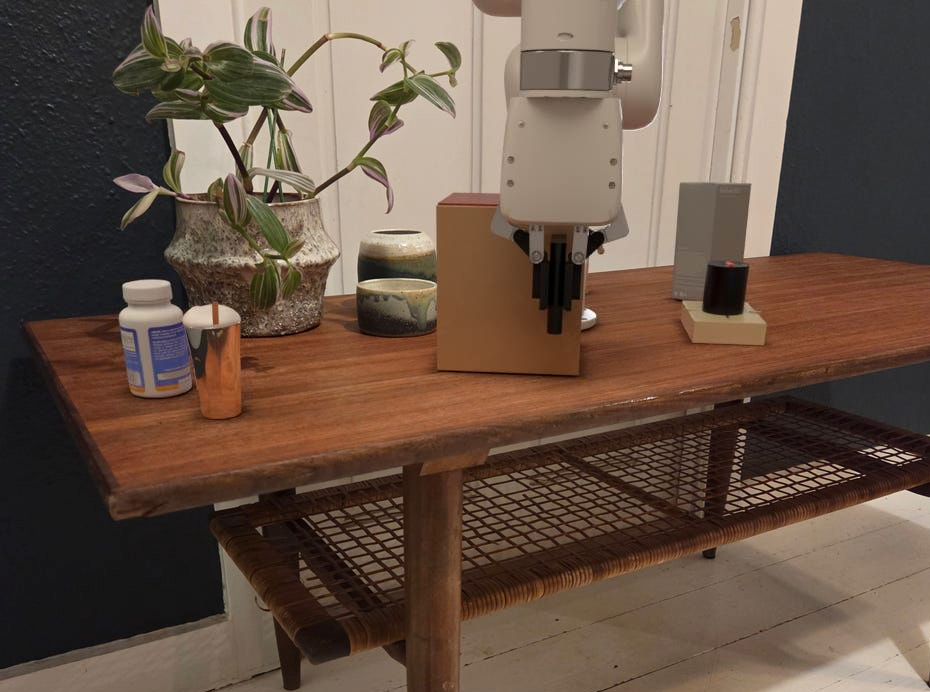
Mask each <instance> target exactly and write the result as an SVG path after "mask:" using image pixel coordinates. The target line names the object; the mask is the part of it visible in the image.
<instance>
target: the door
mask: <svg viewBox="0 0 930 692" xmlns="http://www.w3.org/2000/svg"><path fill="white" fill-rule="evenodd" d="M497 207H498V206H466V205H438V204H437V205H436V206H435V209H436V210H435V227H436V228H435V231H436V232H435V234H436V235H435V236H436V237H435V238H436V239H435V241H436V248H435V249H436V251H435V252H436V254H435V255H436V370H437V371H454V372H477V373H478V372H480V373H481V372H482V373H503V374H505V373H506V374H529V375H530V374H531V375H533V374H534V375H554V376H555V375H557V376H579V370H580V356H581V355H580V353H581V337H582V330H581V322H582V305H583V288H584V270H585V262H584V263H583V264H582V271H581V289H580V300H572V307H571V311H565V309H563V304H564V283H565V263H566V261H568V254H569V253H570V252H571V251H572V244H573V233H574V226H551V225H545V251H546V252H547V253H548V261H550V268H549V291H548V308H547V309H545V310H539V302H540V299H532V280H533V262H532V261H531V260H530V258H529V257H528V256H527V255H526V254H525V252H524V251H523V250H522V249H521V248H520V247H519V246H518V245H517V244H516V243H515V242H514V241H511V240H508V239H506V238H503V237H501V236H498V235H496V234H493V233H492V232H491V231H490V225H491V223H492V220H493V217H494V215H495V212H496V209H497ZM511 223H512V222H511ZM512 224H514V225H516V226H519V227H521V228H524V229H526V230H527V231H528V232H529V234H530V228H529V225H523V224H515V223H512Z"/></svg>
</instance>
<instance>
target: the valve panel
mask: <svg viewBox="0 0 930 692" xmlns="http://www.w3.org/2000/svg"><path fill="white" fill-rule="evenodd" d="M702 302H703V301H688V300H682V301H681V309H680V322H681V325H682V326H683V328H684V330H685V332H686V333H687V336H688V338H689V340H690V341H691V343H692V344H714V345H741V346H765V342H766V334H767V328H768V323H767V322H766V320H764V319H763V317H761V315H760V314H762V311H761V310H755V309H754V307H752V306H751V305H750V304H749V303H748V302H745V303H744V311H743V313H742V314H738V315H717V314H711V313H707V312H704V311H702Z"/></svg>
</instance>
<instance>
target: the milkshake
mask: <svg viewBox="0 0 930 692" xmlns="http://www.w3.org/2000/svg"><path fill="white" fill-rule="evenodd" d="M241 321H242V319H241V316H240V314H239V313H238V311H236V310H235V309H233V308H232V307H230V306H226V305H223V304H219V302H218V301H213V302H211V304H206V305H195V306H192V307H191V308H190V309H188V310H187V311H186V312H185V313H184V314H183V319H182V322H183V326H184V330H185V335H186V341H187V349H188V353H189V357H190V360H191V365H192V370H193V375H194V381H195V386H196V391H197V396H198V401H199V406H200V412H201V415H202V416H203V418H207V419H211V420H225V419H229V418H234V417H237V416H238V415H240V414H241V413H242V369H241V368H242V367H241V366H242V365H241V344H242V343H241V334H242V331H241V329H242V322H241Z"/></svg>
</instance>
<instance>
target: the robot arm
mask: <svg viewBox="0 0 930 692" xmlns="http://www.w3.org/2000/svg"><path fill="white" fill-rule="evenodd" d="M471 1H472V3H473V4H474V6H475V7H476V8H477V10H479V11H481V13H483V14H485V15H487V16H492V17H496V18H520V43H518V44H516V45H515V46H514V47H513V48H512V49H511V51H510V52H509V54H508V56H507V58H506V61H505V64H504V72H503V73H504V74H503V84H504V96H505V104H506V105H505V106H506V119H505V125H504V136H503V145H502V153H501V168H500V169H501V170H500V183H499V184H500V186H499V193H500V201H499V204H498V207H497V209H496V212H495V215H494V217H493V220H492V223H491V225H490V231H491V232H492V233H493V234H496V235H498V236H501V237H503V238H506V239H508V240H511V241H514V242H515V243H516V244H517V245H518V246H519V247H520V248H521V249H522V250H523V251H524V252H525V254H526V255H527V256H528V257H529V258H530V260H531V261H532V262H533V280H532V299H540V302H539V310H545V309H547V308H548V291H549V268H550V261H548V253H547V252H546V251H545V225H551V226H574V233H573V244H572V251H571V252H570V253H569V254H568V261H566V263H565V283H564V304H563V309H565V311H571V307H572V300H580V289H581V271H582V264H583V263H584V262H585V270H584V288H583V305H582V322H581V331H583V330H588V329H590V328H592V327H594V326H595V325H596V323H597V313H595V312H594V311H593V310H591V309H589V308H585V302H586V301H585V299H586V298H585V295H586V294H585V287H586V286H585V284H586V267H587V258H588V257H589V258H590V256H592V255H593V254H594V253H595V252H596V251H597V249H598V248H599V247H600V246H601V245H604V244H608V243H611V242H614V241H617V240H619V239H623V238H625V237H627V236H628V235H629V233H630V229H629V224H628V222H627V217H626V214H625V211H624V207H623V203H622V201H623V200H622V199H623V185H624V183H623V180H624V132H628V131H629V132H630V131H639V130H643V129H646V128H647V127H649V126H650V125H651V124H652V123H653V122H654V121H655V120H656V117H657V115H658V113H659V109H660V105H661V101H662V93H663V77H664V76H663V75H664V74H663V73H664V36H665V35H664V33H665V31H664V30H665V29H664V28H665V27H664V26H665V0H471ZM511 222H512V223H515V224H523V225H529V228H530V234H529V232H528V231H527V230H526V229H524V228H521V227H519V226H516V225H514V224H512V223H511ZM590 227H600V228H597V229H594V230H593V231H592V232H591V233H590V234H589V235H588V232H589V229H590Z"/></svg>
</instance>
